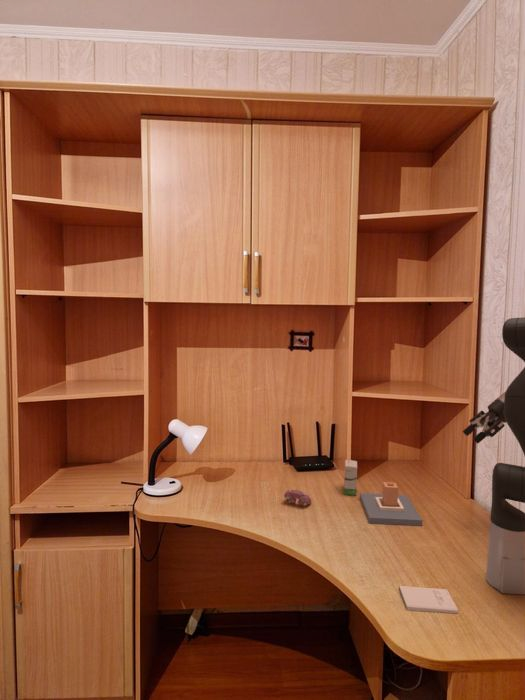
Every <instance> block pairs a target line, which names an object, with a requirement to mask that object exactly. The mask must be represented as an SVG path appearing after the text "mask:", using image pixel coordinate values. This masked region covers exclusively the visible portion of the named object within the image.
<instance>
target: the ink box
mask: <svg viewBox="0 0 525 700" xmlns="http://www.w3.org/2000/svg"><path fill="white" fill-rule="evenodd" d="M344 462H345V464H344V478H343V480H344V481H343V495H344V496H353V497H354V496H357V483H358V461H357V460H352V459H345V461H344Z"/></svg>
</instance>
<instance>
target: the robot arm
mask: <svg viewBox="0 0 525 700" xmlns="http://www.w3.org/2000/svg"><path fill="white" fill-rule="evenodd" d="M501 334H502V341H503V343H504V345H505V346H506V348H507V349H509V350H510V351H511V352H512V353H513V354H514V355H516V356H517V357H518V358H519V359H521V360H522V362H523V363H525V317H512V318H508V319H506V320H505V321H504V323H503V325H502V332H501ZM487 410H488V411H486V412H485V411H484V410H480V411H479V412H478V413H477V414H475V415H474V416H473V417H472V418H471V419H469V425H467V427H466V428H464V430H462V432H463V434H464V435H465V436H467V437H468V436H469V435H471V434H472V433H473V432H474V431H475V430H476V429H479V428H482V430H481V431H480V432H479V433H477V434H476V435H475V436H474V437H473V438H472V440H473V441H474V442H475V443H476V444H480V443H481V442H482V441H484V439H486V437H487V438H489V437H490V438H493V437H494V436H495V435H497V434H498V433H499V432H500V431H501V430H503V428H505V426H506V424H507V426H508V428H509V429H510V431H511V432H512V434H513V435H514V437H515V439H516V440H517V442H518V443H519V446H520V448H521V450H522V453H523V456H524V457H525V366H524V367H523V368H522V370H521V371H520V372H519V374H517V376H515V378H514V379H513V380H512V381H511V382H510V384H509V385H508V386H507V388H506V390H505V392H503V393H501V394H500V395H499V396H497V398H496V399H495V400H493V401H491V403H490V404H489V405H487ZM491 479H492V480H491V507H490V517H489V529H488V545H487V556H486V572H485V580H486V582H487V583H488V584H489V585H490V586H491V587H492V588H494V589H496V590H498V591H499V592H500V593H501V594H509V595H510V594H511V595H525V512H524V511H523V510H521V509H520V508H517V507H516V506H514V505H512V504H511V503H510V502H509V501H514V502H519V503H523V504H525V466H522V465H516V464H509V463H505V462H497V463H496V464H495V465H494V466H493V469H492V476H491ZM507 500H509V501H507Z"/></svg>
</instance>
